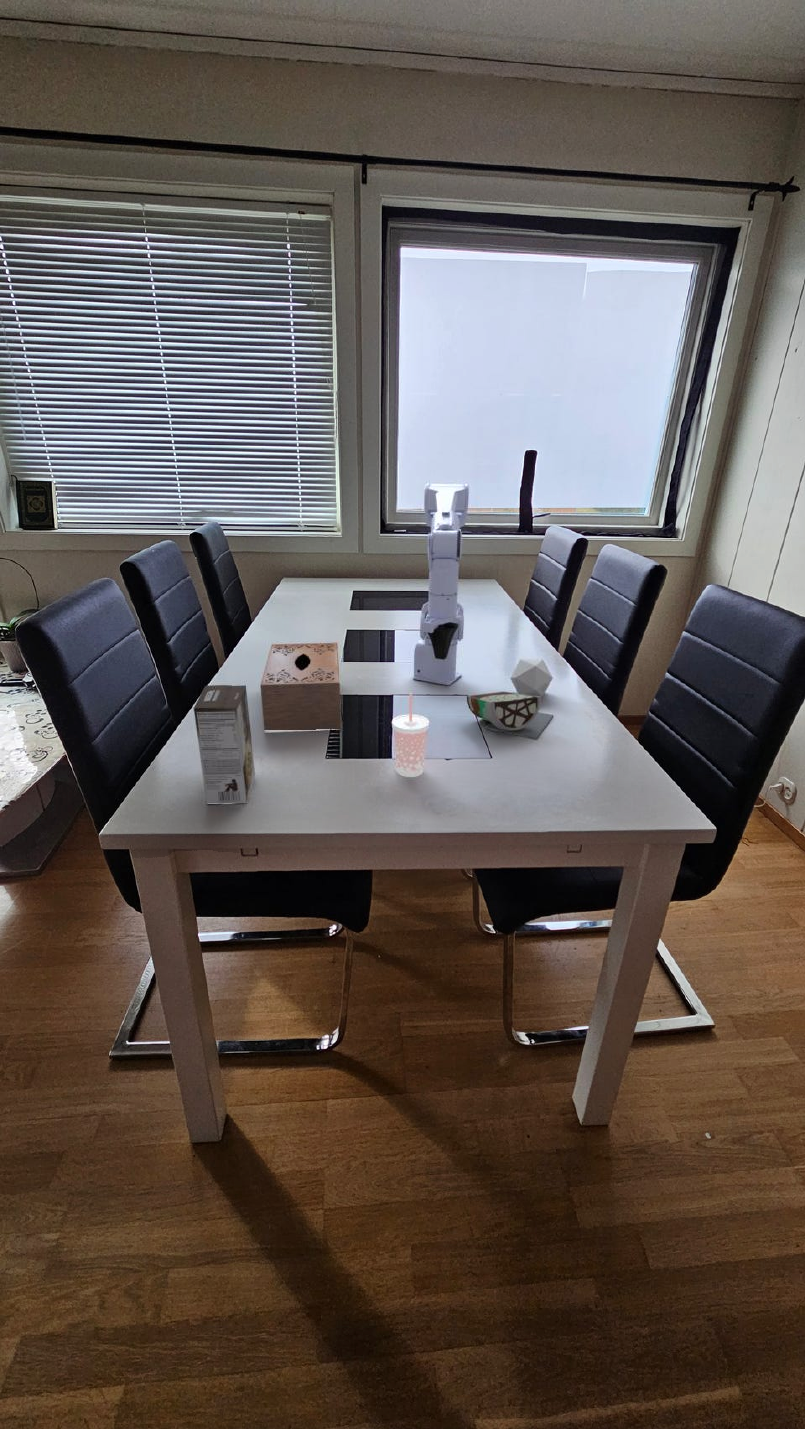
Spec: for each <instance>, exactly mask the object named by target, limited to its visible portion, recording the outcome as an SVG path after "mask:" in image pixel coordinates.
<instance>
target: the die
mask: <svg viewBox="0 0 805 1429" xmlns="http://www.w3.org/2000/svg"><path fill="white" fill-rule="evenodd" d="M553 679H554V678H553V676H552V674H551V671H550V670H549V668H548V666H547V664H546V662H545V660H544V659H541V658H540V659H539V658H538V659H537V658H536V659H534V658H533V659H531V658H529V659H526V658H525V659H523V658H522V659H519V660H518V663H517V664H516V666H515V669H513V672H512V674H511V676H510V680H511V682H512V685H513V687H514V689H515V691H516V693H517V694H524V695H531V696H540V697H541V698H542V697H544V695H545V694H546V691H547V689H548V688H549V686H550V684H551V682H552V681H553Z"/></svg>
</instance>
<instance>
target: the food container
mask: <svg viewBox="0 0 805 1429" xmlns="http://www.w3.org/2000/svg"><path fill="white" fill-rule="evenodd" d="M541 702H542V697H540V696H531V695H524V694H518V693H517V692H510V691H509V692H508V691H498V692H496V691H495V692H489V693H481V694H480V693H479V694H471V695H466V704H467V707H468V709H469V710H470V712H471V713H472V714H473V715H474V716H476V717H477V718H480V719H482V720H485V721H487V722H489V723H490V722H492V724H493V725H494V726H496V727H497V728H499V729H501V730H505V731H512V730H519V729H521V728H524V727H526V726H527V725H529V724H530V723H531V722H532V721H533V719H534V718H535V716H536V715H537V713H538V712H540V711H539V710H540V707H541Z"/></svg>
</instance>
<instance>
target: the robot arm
mask: <svg viewBox="0 0 805 1429" xmlns="http://www.w3.org/2000/svg"><path fill="white" fill-rule="evenodd" d="M469 489H470V486H469V485H468V483H456V484H455V483H429V482H427V483H426V484H425V485H424V495H423V496H424V499H423V501H424V502H423V509H424V520H425V525H426V526H428V527H430V532H428V535H427V558H428V560H427V561H428V570H429V572H428V575H429V576H428V601H427V602H426V603H424V604H423V605H422V607H421V614H420V619H419V620H420V621H419V624H420V625H419V626H420V628H419V634H420V635H419V637H420V638H419V640H417V642H416V644H415V648H414V652H413V654H414V655H413V676H412V679H414V680H419V681H422V682H429V683H434V684H438V685H439V684H440V685H445V686H450V685H452V684H453V683H454V682H456V680H458V679H459V678H460V677H462V675H463V674H462V673H461V672H457V656H458V655H457V651H458V642H461V641H462V640H463V639H464V628H465V623H464V622H465V617H464V616H465V615H464V608H463V606H462V605H461V604H460V603H459V602H458V590H459V587H458V586H459V568H460V567H459V566H460V562H459V561H461V558H462V551H463V534H462V529H460V528H462V527H464V526H465V525H466V521H467V519H468V511H469V510H468V509H469V495H470V490H469Z"/></svg>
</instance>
